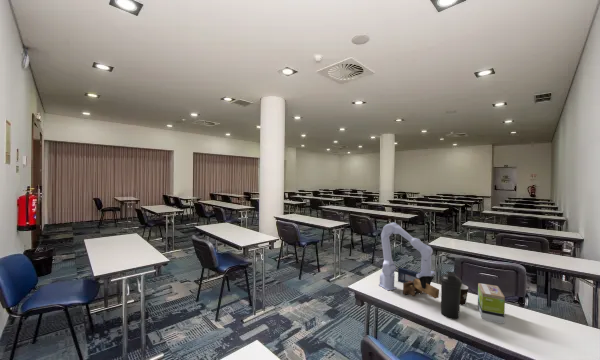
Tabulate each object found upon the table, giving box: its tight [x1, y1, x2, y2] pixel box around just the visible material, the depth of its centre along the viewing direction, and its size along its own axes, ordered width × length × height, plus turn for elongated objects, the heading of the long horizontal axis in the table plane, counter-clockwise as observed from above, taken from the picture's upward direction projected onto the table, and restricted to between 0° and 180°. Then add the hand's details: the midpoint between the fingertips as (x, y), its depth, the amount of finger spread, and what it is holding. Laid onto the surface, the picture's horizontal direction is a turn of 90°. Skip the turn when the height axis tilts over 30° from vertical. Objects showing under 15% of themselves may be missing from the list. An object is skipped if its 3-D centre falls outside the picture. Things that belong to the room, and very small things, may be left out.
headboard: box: [402, 281, 424, 297], centre depth 169 cm, size 5×15×7 cm, turn 115°
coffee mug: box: [460, 283, 469, 306], centre depth 159 cm, size 12×9×10 cm
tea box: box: [477, 282, 506, 324], centre depth 145 cm, size 15×10×15 cm, turn 154°
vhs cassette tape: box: [397, 266, 419, 284], centre depth 182 cm, size 18×3×10 cm, turn 43°
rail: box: [413, 278, 440, 299], centre depth 162 cm, size 16×3×5 cm, turn 25°
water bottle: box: [440, 271, 463, 320], centre depth 144 cm, size 10×10×23 cm
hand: (425, 287), depth 162 cm, fingers closed on rail, 3 cm apart
